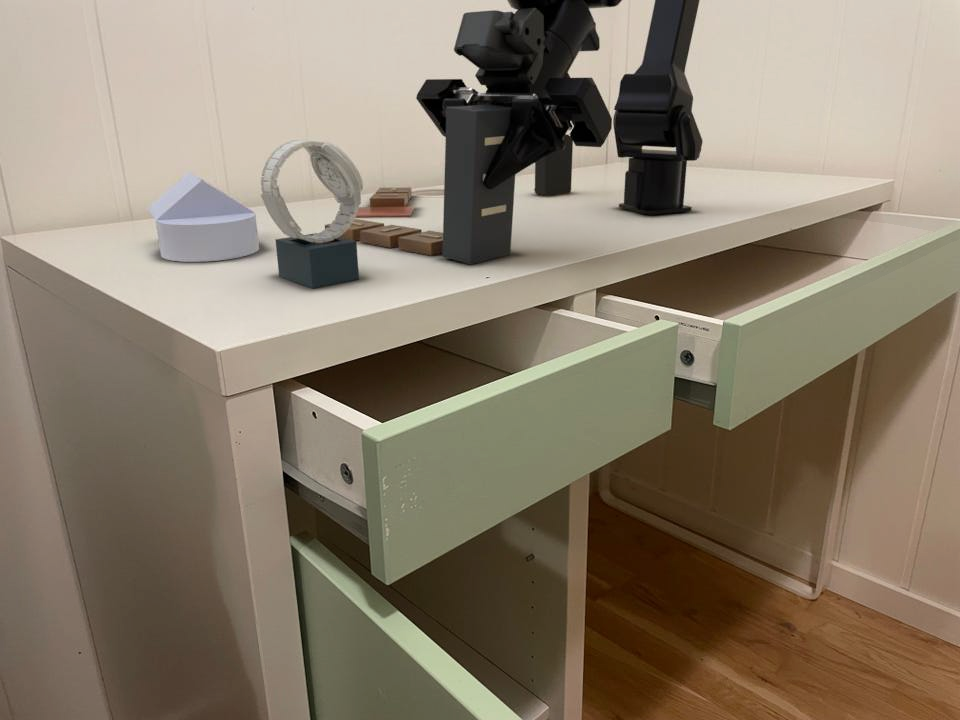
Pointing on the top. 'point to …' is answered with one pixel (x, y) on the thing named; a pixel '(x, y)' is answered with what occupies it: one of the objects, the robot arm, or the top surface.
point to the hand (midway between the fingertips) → (467, 184)
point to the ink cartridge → (555, 171)
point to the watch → (323, 252)
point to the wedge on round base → (203, 223)
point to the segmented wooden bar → (395, 237)
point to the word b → (388, 203)
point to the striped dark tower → (475, 185)
